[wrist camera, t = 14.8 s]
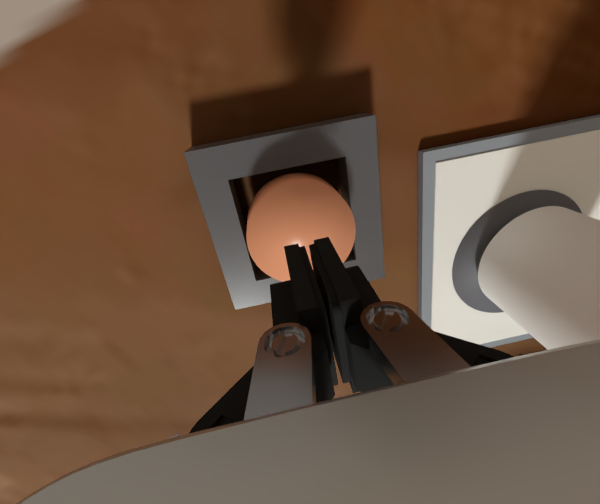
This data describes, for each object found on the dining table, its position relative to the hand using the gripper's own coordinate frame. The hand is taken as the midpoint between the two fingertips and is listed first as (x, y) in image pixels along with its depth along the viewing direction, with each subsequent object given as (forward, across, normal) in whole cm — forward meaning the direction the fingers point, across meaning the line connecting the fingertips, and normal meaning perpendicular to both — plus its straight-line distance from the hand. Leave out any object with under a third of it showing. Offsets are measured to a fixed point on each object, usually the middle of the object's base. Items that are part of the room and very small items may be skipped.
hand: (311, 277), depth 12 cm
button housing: (+7, 0, 0) cm, 7 cm away
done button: (+6, 0, 0) cm, 6 cm away
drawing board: (+7, -14, +6) cm, 17 cm away
